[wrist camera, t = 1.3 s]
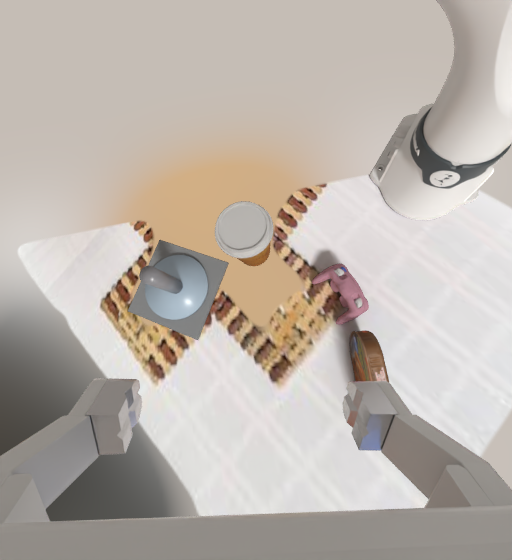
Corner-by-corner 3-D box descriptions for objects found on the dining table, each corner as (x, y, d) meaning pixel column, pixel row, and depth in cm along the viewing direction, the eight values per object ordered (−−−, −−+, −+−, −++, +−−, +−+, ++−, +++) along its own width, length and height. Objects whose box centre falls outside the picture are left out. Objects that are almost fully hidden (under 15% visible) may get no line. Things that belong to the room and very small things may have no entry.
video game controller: (354, 318, 49) (379, 306, 43) (336, 328, 47) (359, 317, 41) (326, 272, 51) (346, 255, 45) (307, 280, 49) (326, 263, 43)
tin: (346, 332, 47) (356, 330, 39) (364, 330, 47) (379, 328, 38) (363, 424, 43) (378, 444, 35) (383, 423, 43) (403, 443, 35)
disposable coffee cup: (263, 220, 54) (254, 188, 42) (286, 258, 51) (284, 235, 40) (222, 243, 54) (202, 217, 42) (244, 283, 52) (229, 267, 40)
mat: (160, 240, 56) (159, 239, 56) (228, 263, 53) (227, 262, 52) (129, 311, 54) (127, 311, 54) (198, 339, 51) (197, 339, 50)
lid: (162, 248, 55) (131, 227, 45) (218, 267, 53) (199, 249, 42) (137, 306, 53) (98, 298, 43) (193, 329, 51) (166, 327, 40)
